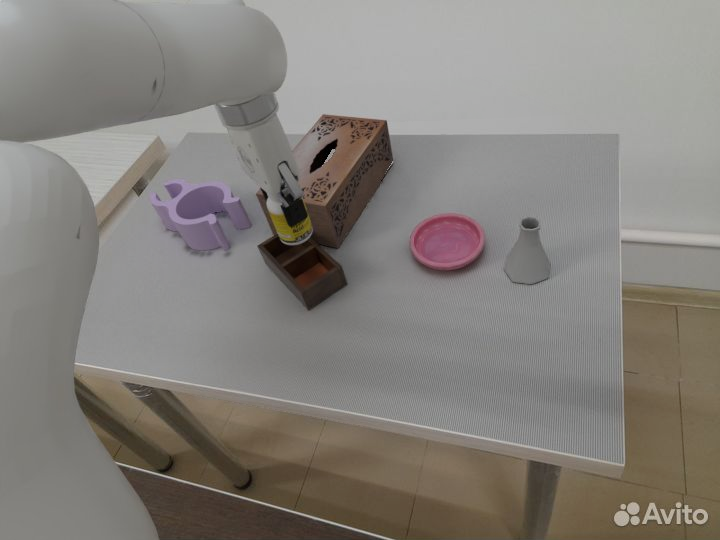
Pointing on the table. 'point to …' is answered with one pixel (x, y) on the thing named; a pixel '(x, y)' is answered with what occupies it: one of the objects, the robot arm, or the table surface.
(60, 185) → the robot arm
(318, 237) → the tissue box cover
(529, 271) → the flask
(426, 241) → the saucer
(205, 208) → the clip
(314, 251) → the holder
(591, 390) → the table surface
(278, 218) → the supplement bottle
